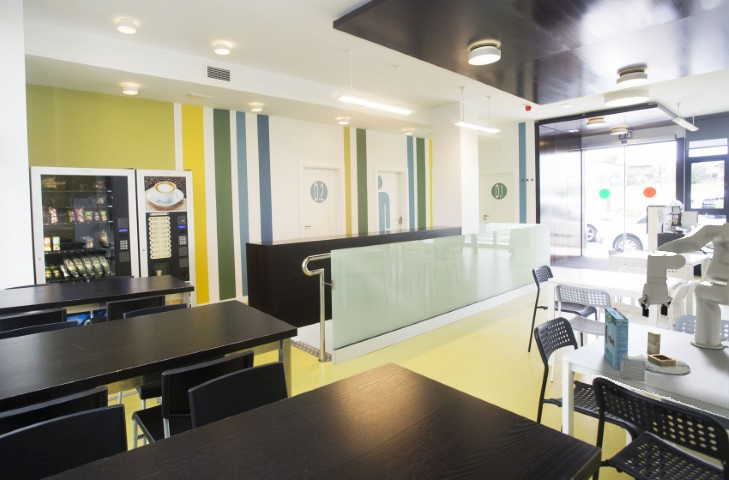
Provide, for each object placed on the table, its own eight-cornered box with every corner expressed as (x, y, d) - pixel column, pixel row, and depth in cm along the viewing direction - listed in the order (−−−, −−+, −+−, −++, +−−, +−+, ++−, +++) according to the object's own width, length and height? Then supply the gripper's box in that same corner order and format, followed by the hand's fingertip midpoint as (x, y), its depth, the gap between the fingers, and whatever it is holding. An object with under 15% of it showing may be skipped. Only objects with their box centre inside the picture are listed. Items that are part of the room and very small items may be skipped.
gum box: (627, 371, 178) (629, 319, 175) (614, 370, 179) (615, 318, 177) (615, 354, 196) (616, 307, 194) (603, 353, 198) (604, 307, 195)
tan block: (653, 351, 199) (654, 331, 198) (659, 354, 195) (660, 333, 194) (647, 352, 198) (647, 331, 197) (653, 354, 195) (654, 334, 194)
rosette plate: (662, 355, 194) (662, 347, 194) (702, 372, 174) (702, 364, 174) (623, 358, 191) (624, 351, 191) (660, 376, 172) (660, 368, 171)
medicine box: (641, 377, 172) (642, 356, 171) (644, 381, 168) (645, 361, 167) (619, 374, 174) (620, 355, 174) (622, 379, 170) (623, 359, 169)
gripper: (666, 277, 198) (664, 312, 200) (633, 279, 196) (631, 314, 198) (679, 280, 191) (678, 316, 192) (646, 282, 188) (644, 319, 190)
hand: (654, 315), depth 195 cm, fingers open, 9 cm apart
